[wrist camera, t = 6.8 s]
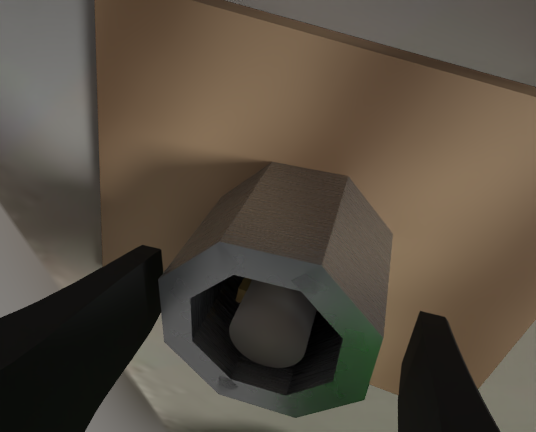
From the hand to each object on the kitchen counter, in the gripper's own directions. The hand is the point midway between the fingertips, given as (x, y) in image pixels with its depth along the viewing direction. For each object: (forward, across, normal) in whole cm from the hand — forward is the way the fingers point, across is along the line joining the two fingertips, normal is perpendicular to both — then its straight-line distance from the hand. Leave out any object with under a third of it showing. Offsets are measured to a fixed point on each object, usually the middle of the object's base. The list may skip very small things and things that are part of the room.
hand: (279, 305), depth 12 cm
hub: (+2, 0, 0) cm, 2 cm away
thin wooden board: (+3, 0, 0) cm, 3 cm away
